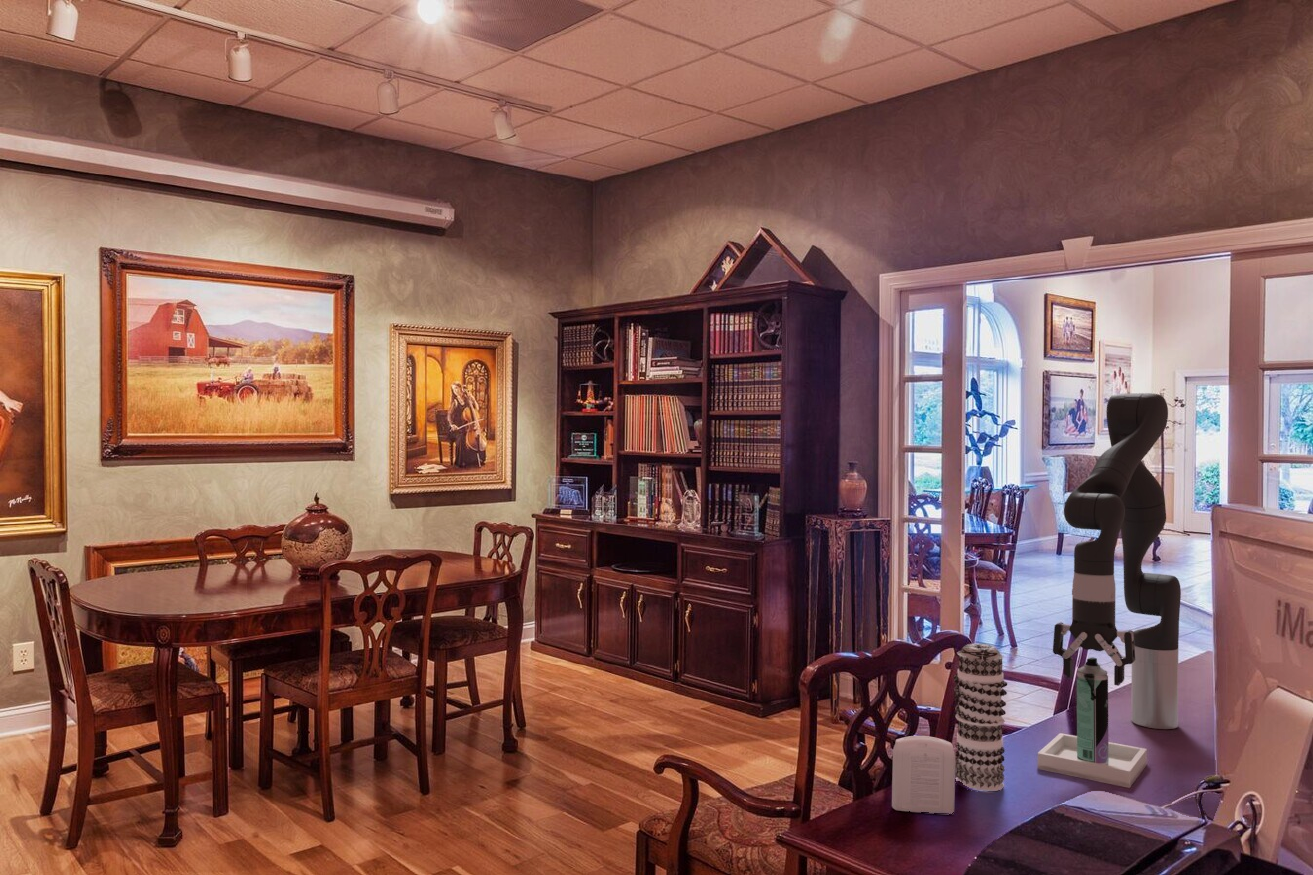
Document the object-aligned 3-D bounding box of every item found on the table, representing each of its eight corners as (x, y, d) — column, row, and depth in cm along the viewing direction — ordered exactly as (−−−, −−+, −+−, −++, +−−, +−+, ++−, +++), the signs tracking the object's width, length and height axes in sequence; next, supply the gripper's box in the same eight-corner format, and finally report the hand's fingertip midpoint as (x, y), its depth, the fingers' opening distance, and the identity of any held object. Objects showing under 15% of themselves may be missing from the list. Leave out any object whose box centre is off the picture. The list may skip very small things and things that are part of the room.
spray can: (1112, 767, 179) (1111, 661, 179) (1081, 766, 180) (1080, 660, 180) (1104, 758, 184) (1103, 655, 184) (1074, 756, 185) (1073, 654, 186)
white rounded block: (952, 807, 161) (953, 734, 161) (956, 817, 157) (957, 742, 157) (890, 803, 163) (891, 731, 163) (893, 812, 159) (893, 738, 159)
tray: (1060, 747, 193) (1060, 733, 193) (1146, 764, 184) (1147, 748, 184) (1037, 768, 181) (1037, 752, 181) (1129, 787, 171) (1129, 771, 171)
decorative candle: (980, 796, 166) (981, 653, 166) (942, 779, 174) (943, 643, 175) (1017, 788, 170) (1018, 648, 171) (978, 772, 179) (979, 639, 179)
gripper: (1138, 598, 181) (1138, 683, 181) (1059, 590, 190) (1059, 671, 190) (1130, 603, 175) (1129, 691, 175) (1049, 595, 184) (1049, 679, 184)
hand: (1093, 681), depth 182 cm, fingers open, 8 cm apart
